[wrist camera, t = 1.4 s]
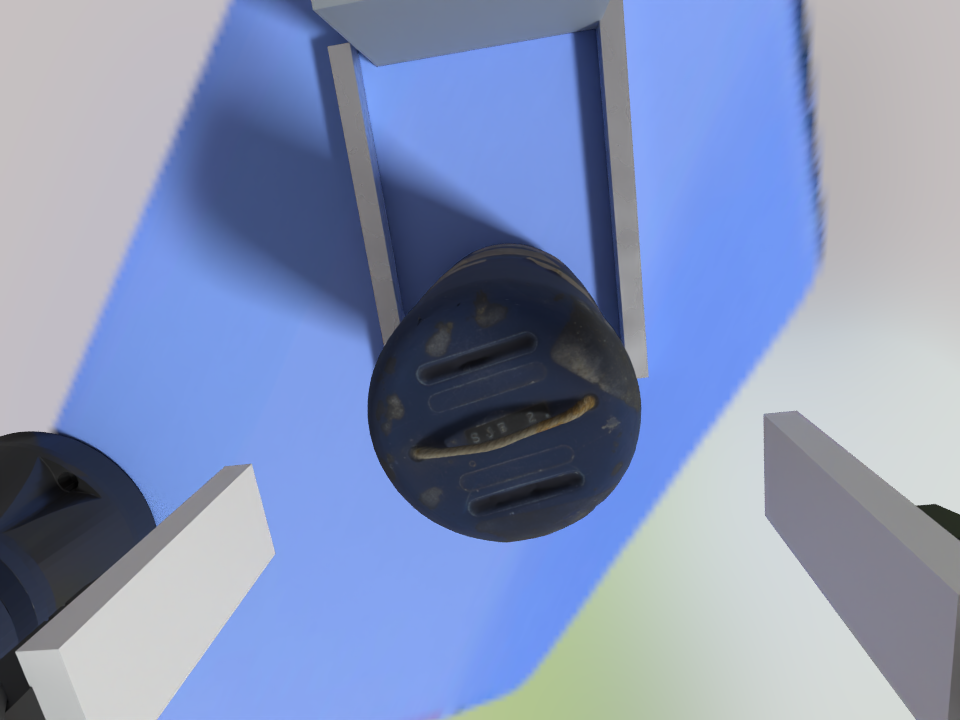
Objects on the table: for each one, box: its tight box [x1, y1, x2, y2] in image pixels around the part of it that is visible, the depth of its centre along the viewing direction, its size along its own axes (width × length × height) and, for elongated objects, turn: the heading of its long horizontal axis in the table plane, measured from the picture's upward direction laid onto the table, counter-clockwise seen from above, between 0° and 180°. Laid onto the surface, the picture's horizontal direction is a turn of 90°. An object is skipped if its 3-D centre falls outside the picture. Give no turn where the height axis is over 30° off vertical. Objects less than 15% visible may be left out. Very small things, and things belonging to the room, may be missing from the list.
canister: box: [368, 244, 641, 542], centre depth 26 cm, size 10×10×18 cm
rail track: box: [328, 0, 648, 378], centre depth 33 cm, size 15×20×2 cm
